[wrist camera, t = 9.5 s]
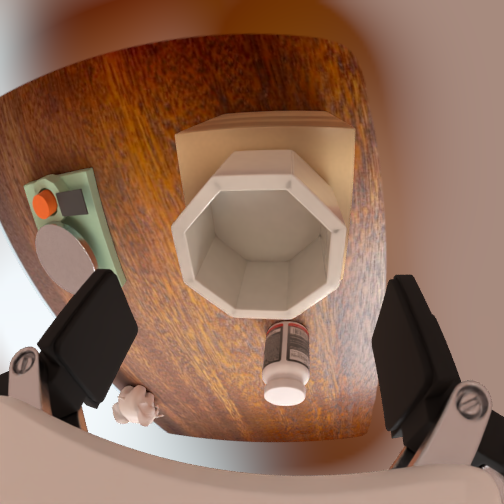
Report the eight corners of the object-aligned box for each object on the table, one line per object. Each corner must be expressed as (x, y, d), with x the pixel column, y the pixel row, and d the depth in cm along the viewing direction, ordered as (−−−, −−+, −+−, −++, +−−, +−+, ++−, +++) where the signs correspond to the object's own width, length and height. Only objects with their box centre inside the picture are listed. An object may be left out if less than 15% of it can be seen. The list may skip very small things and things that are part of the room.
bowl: (196, 152, 14) (160, 179, 10) (333, 148, 13) (351, 175, 9) (213, 263, 17) (192, 315, 14) (326, 265, 16) (333, 320, 13)
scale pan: (22, 199, 27) (17, 202, 27) (81, 188, 26) (76, 192, 25) (57, 287, 35) (54, 291, 34) (118, 295, 33) (114, 300, 33)
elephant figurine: (147, 406, 59) (136, 436, 51) (113, 379, 54) (99, 410, 46) (175, 406, 56) (165, 439, 48) (139, 377, 51) (124, 412, 43)
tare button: (38, 190, 27) (29, 196, 25) (53, 187, 26) (44, 193, 25) (45, 213, 29) (37, 220, 27) (60, 212, 28) (52, 218, 27)
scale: (29, 178, 29) (14, 186, 27) (91, 162, 27) (75, 171, 25) (64, 275, 38) (53, 287, 35) (126, 280, 36) (116, 295, 33)
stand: (224, 113, 23) (174, 134, 13) (326, 111, 22) (355, 128, 12) (233, 203, 28) (199, 277, 18) (324, 203, 27) (342, 280, 17)
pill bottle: (271, 348, 39) (264, 408, 31) (262, 321, 36) (252, 385, 28) (311, 344, 38) (311, 406, 29) (306, 316, 35) (306, 383, 27)
